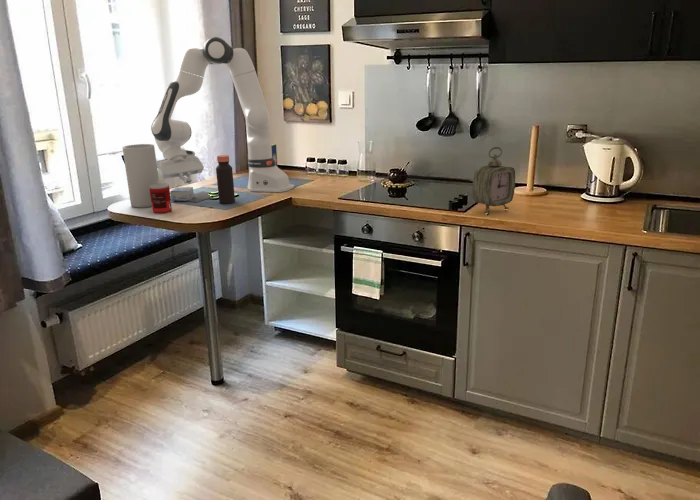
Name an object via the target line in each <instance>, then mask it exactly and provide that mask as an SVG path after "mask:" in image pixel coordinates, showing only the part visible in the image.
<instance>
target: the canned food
mask: <svg viewBox="0 0 700 500" xmlns="http://www.w3.org/2000/svg"><path fill="white" fill-rule="evenodd" d="M149 189H150V197H151V204H152V207H151V210H152V214H155V215H163V214H164V215H165V214H169V213H171V212H172V211H173V207H172V201H171V195H170V191H171V190H170V185H169V184H168V183H163V182H161V183H160V182H159V184H153V185H150V186H149Z"/></svg>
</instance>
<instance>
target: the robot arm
mask: <svg viewBox="0 0 700 500" xmlns="http://www.w3.org/2000/svg"><path fill="white" fill-rule="evenodd" d="M222 64H224V65H226V67H227V68H228V70H229V73H230V77H231V79H232V82H233V85H234V88H235V91H236V94H237V98H238V101H239V105H240V107H241V109H242V113H243V115H244V119H245V129H246V130H245V131H246V143H247V147H248V155H247V167H249V168H248V183H247V187H246V188H247V189H248V190H249V192H259V193H260V192H262V193H263V192H265V193H283V192H286V191H289V190H292V189H294V188H295V185H294V184H291V183H290V180H289V176H288V174H287V173H285V171H283V170H282V169H280V168H279V167H278V165H277V166H276V164H275V162H277V163H278V159H277V160H274V159H273V157H272V148H271V144H272V137H271V127H270V126H271V125H270V119H271V116H270V114H271V113H270V112H269V109H268V105H267V102H266V99H265V95H264V93H263V90H262V87H261V84H260V81H259V78H258V75H257V72H256V69H255V66H254V64H253V60H252V58H251V56H250V54H249V53H248V51H247V49H244V48H243V47H236V48H233V47H232V46H231V45H229V43H227V42H226V41H225V40H224V39H223V38H221V37H219V36H213V37H210V38H208V39H207V40H206V41H205V42H204V44H203V46H202V47H201V48H197V47H188V48H186V49H185V51H184V52H183V54H182V57H181V59H180V63H179V66H178V71H177V74H176V76H175V78H174V80H173V81H171V82H170V83H169V84H168V86H167V88H166V89H165V92H164V95H163V98H162V100H161V103H160V106H159V108H158V111H157V113H156V116H155V117H154V120H153V121H152V124H151V126H150V131H151V134H152V136H153V137H154V140H155V144H156V145H157V147H158V149H159V151H160V152H161V153H162V157H163V159H158V160H157V159H156V163H157V171H158V174H159V175H160V177H161V178H162V179H163V180H166V179H172V178H178V179H180V180H182V181H183V182H184V184H189V183H192V178H191V176H192V175H197V174H201V173H203V171H204V168H205V167H204V164H203V162H202V161H201V159H200V158H199V157H198V156H196V152H195V151H194V150H188V149H187V150H186V149H183V148H182V146H184V145H185V144H186V143H187V142H188V141H189V140H190V139H191V138H192V137H191V136H192V132H193V131H192V128H191V126H190V124H189V123H188V122H187V121H183V120H177V119H172V116H173V112H174V110H175V107H176V105H177V102H178V101H179V100H180V99H182V98H184V97H186V96H191V95H194V94H197V93H198V92H199V91H200V90H201V88H202V86H203V82H204V78H205V72H206V71H207V67H208V66H209V65H222Z"/></svg>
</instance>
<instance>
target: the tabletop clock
mask: <svg viewBox="0 0 700 500" xmlns="http://www.w3.org/2000/svg"><path fill="white" fill-rule="evenodd" d="M493 150H500V153H499V154H494V155H493V156H491V152H492V151H493ZM502 153H503V149H502V148H501V147H499V146H494V147H492V148H491V149H489V151H488V157H489V158H490V160H489V161H488V163H487V165H484V166H481V167H478V168H476V169H475V170H474V172H473V176H472V197H473V201H474V202H475V203H478V204H483V205H484V206H485V212H484V214H485V213H489V214H490V211H488V209H489V208H490V207H501V206H503V207H504V209H509V207H508V206H506V205H508V204H509V203H511V202H512V201H513V198H514V196H515V189H516V170H515V168H514V167H511V166H505V165H503V164H502V162H501V160H500V159H498V158H500V157H501V156H502ZM509 210H510V209H509Z"/></svg>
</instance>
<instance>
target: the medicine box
mask: <svg viewBox="0 0 700 500" xmlns="http://www.w3.org/2000/svg"><path fill="white" fill-rule="evenodd" d="M194 194H195V193H194V187H193V186H188V187H184V186H183V187H175V188H173V189H171V190H170V197H171V202H180V201H181V202H187V201H189V200H190V199H192V198H193V197H194Z"/></svg>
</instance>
